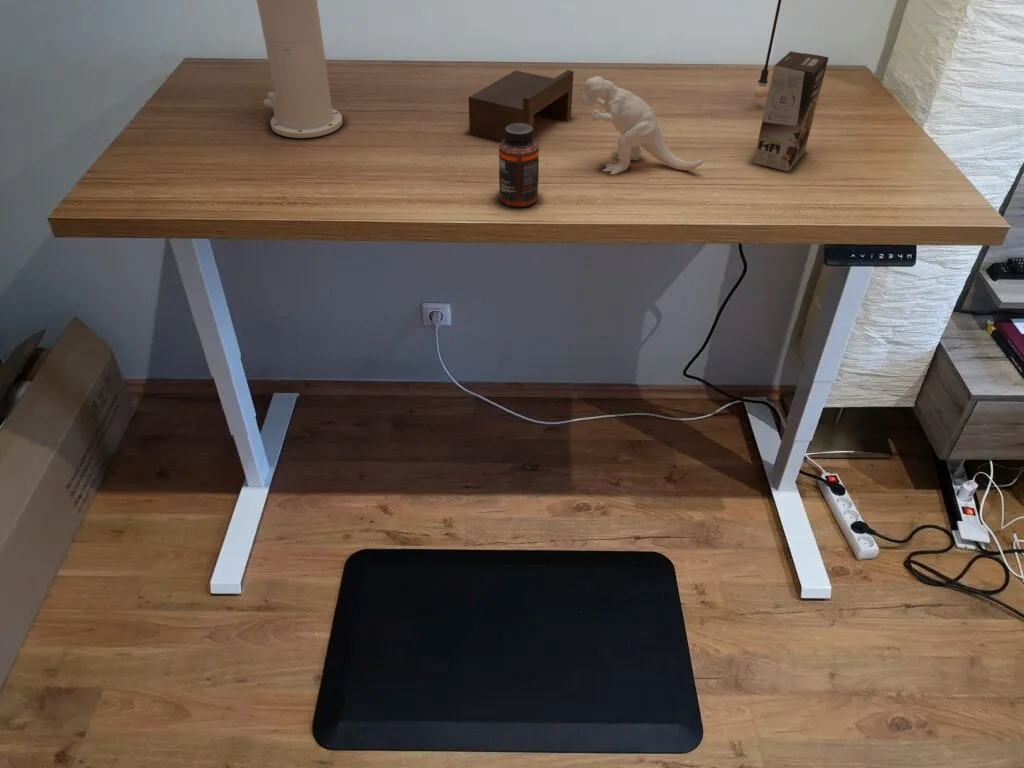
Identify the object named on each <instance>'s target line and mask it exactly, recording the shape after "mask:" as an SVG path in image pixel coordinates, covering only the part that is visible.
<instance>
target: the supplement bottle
mask: <svg viewBox="0 0 1024 768" xmlns="http://www.w3.org/2000/svg"><path fill="white" fill-rule="evenodd" d="M505 137H506V138H505V139H504V140H503V141H502V142H500V143H499V146H498V180H499V182H498V183H499V186H498V187H499V188H498V190H499V200H500V201H501V202H502V203H503V204H505V205H507V206H510V207H516V208H522V207H523V208H524V207H528V206H530V205H533V204H535V203H536V201H538V197H539V170H540V168H539V167H540V165H539V163H540V162H539V161H540V146H539V143H538V142H537V140H536V139H534V127H533V128H532V127H531V126H530V125H528V124H523V123H515V124H510V125H508V126H507V127H506V129H505ZM532 137H533V138H532Z"/></svg>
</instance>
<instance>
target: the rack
mask: <svg viewBox="0 0 1024 768" xmlns="http://www.w3.org/2000/svg"><path fill="white" fill-rule="evenodd" d="M573 89H574V70H570V69H567V70H565V71H564V72H562V73H561V74H559V75H558V76H556V77H550V76H544V75H540V74H535V73H530V72H525V71H520V70H513V71H512V72H510V73H509V74H507V75H505V76H503V77H501V78H500V79H498V80H496V81H494V82H492V83H490V84H489V85H487V86H486V87H484V88H482V89H480V90H479V91H477V92H475V93H473V94H471V95H470V96H468V125H469V126H468V127H469V128H468V129H469V135H472V136H475V137H478V138H480V137H481V138H484V139H487V140H491V141H495V142H498V143H499V142H500V143H501V142H502V141H503V140H504V139H505V138H506V137H505V129H506V127H507V126H508V125H510V124H515V123H523V124H528V125H530V126H531V127H532V128H533V129H534V115H540V116H543V117H548V118H553V119H557V120H561V121H565V122H568V121H569V120H571V119H572V106H573V105H572V104H573ZM532 138H533V139H534V136H533V137H532Z"/></svg>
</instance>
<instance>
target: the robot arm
mask: <svg viewBox="0 0 1024 768" xmlns="http://www.w3.org/2000/svg"><path fill="white" fill-rule="evenodd" d="M256 4H257V8H258V15H259V19H260V24H261V29H262V35H263V38H264V43H265V44H264V45H265V50H266V55H267V62H268V66H269V67H268V68H269V73H270V76H271V83H272V88H273V89H272V90H273V91H269V92H268V93H267V98H265V99H264V100H263V105H264V107H266V108H270V109H272V110H273V114H274V115H273V116H272V117H271V119H270V122H269V123H270V127H271V130H272V131H273V132H274V133H276V134H277V135H279V136H283V137H285V138H291V139H310V138H316V137H323V136H325V135H329V134H331V133H334V132H335V131H337V130H338V129H340V128H341V127H342V126H343V123H344V122H343V116H342V113H340V111H338V110H337V109H335V108H333V105H332V99H331V98H332V97H331V91H330V82H329V76H328V70H327V69H328V68H327V62H326V53H325V46H324V40H323V32H322V27H321V26H322V25H321V19H320V12H319V5H318V0H256Z"/></svg>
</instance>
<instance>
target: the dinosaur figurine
mask: <svg viewBox="0 0 1024 768" xmlns="http://www.w3.org/2000/svg"><path fill="white" fill-rule="evenodd" d="M583 87H584V88H583V89H584V92H583V93H582V95H581V101H582V105H583V106H585V107H588V106H589V107H592V106H593V105H594V104H596V105H599V106H601V107H602V108H604V110H605V112H602V111H600V110H599V109H597V108H594V110H592V113H591V116H590V118H591V120H592V122H595V123H596V122H598V121H600V120H602V121H605V122H608V123H612V124H613V127H614V128H615V130H616V131H617V132H618V134H620V135H621V136H620V137H619V139H618V142H617V146H618V147H617V155H618V156H617V157H616V159H618V160H619V161H618V162H617V163H607V164H605V167H604V168H603V169H602V172H610V175H616V174H619V173H621V172H624V171H627V170H628V168H629V165H630V163H631V161H638V160H640V157H641V155H642V149H641V148H643V149H645V151H646V152H647V153H649V154H650V155H651V156H652V157H653V158H655V159H656V160H658V161H659V162H660V163H662V164H664V165H666V166H668V167H669V168H673V169H675V170H678V171H679V170H680V171H692V170H695V169H697V168H698V167H701V166H702V165H703V163H704V160H703V159H697V160H695V161H687V160H684V159H680V158H678V157H677V156H676V155H675V154H674V153H672V152H671V150H670V148H668V146H667V144H666V142H665V140H664V138H663V135H662V132H661V128H660V127H659V123H658V119H657V117H656V114H655V112H654V111H653V109H652V107H651V106H650V105H649V104H648V103H647V102H646V101H645V100H644V99H642V98H641V97H639V96H638V95H635V93H634V92H631V91H629V90H628V89H624V88H622V87H619V86H617V85H615V84H614V83H613V82H612V81H611V80H608V79H604V78H603V77H602V76H600V75H596V76H593V77H589V78H588V79H587V80H585V82H584V85H583ZM602 99H603V100H602Z"/></svg>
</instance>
